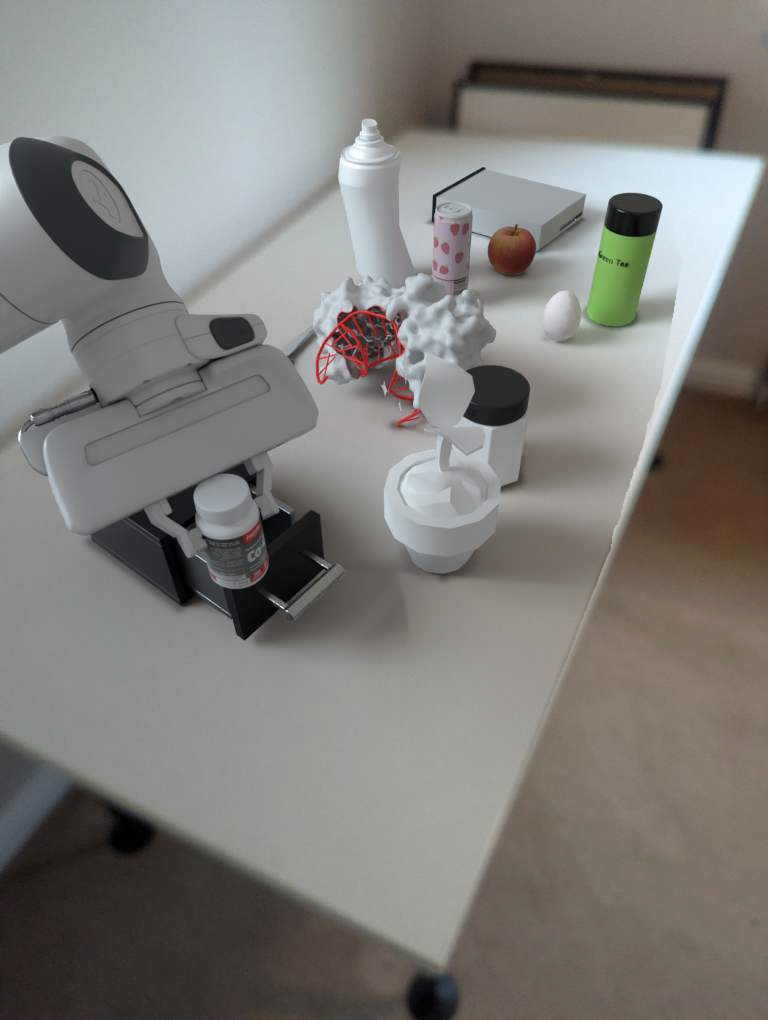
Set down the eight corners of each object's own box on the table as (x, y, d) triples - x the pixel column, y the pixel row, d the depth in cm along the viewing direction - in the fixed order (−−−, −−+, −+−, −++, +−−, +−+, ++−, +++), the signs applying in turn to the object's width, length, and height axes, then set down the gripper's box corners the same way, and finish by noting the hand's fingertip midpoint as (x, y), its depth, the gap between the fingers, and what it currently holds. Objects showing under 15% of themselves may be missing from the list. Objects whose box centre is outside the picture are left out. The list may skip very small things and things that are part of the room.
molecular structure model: (348, 478, 98) (514, 415, 84) (258, 376, 89) (428, 286, 75) (381, 389, 111) (529, 321, 98) (306, 292, 102) (457, 202, 88)
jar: (450, 442, 92) (455, 360, 83) (515, 445, 91) (527, 363, 83) (449, 491, 85) (455, 408, 77) (520, 494, 85) (533, 411, 76)
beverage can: (437, 291, 119) (441, 198, 109) (470, 297, 118) (478, 203, 107) (425, 308, 115) (428, 213, 105) (460, 314, 114) (467, 219, 103)
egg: (574, 330, 110) (584, 283, 105) (578, 349, 106) (587, 301, 101) (538, 329, 111) (546, 281, 105) (540, 348, 107) (548, 300, 102)
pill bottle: (265, 591, 57) (249, 515, 51) (204, 590, 57) (182, 515, 51) (272, 545, 60) (259, 469, 54) (215, 545, 60) (195, 469, 55)
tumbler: (639, 327, 111) (671, 213, 98) (590, 328, 111) (615, 213, 98) (627, 303, 116) (656, 191, 104) (580, 303, 116) (603, 191, 104)
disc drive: (480, 191, 148) (482, 166, 145) (582, 218, 138) (587, 191, 135) (431, 221, 138) (432, 194, 135) (537, 253, 129) (541, 224, 125)
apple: (517, 256, 128) (522, 211, 122) (542, 276, 122) (549, 229, 117) (476, 266, 125) (480, 219, 120) (500, 286, 120) (505, 239, 115)
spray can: (369, 309, 115) (364, 140, 98) (335, 282, 122) (324, 119, 104) (429, 289, 120) (434, 123, 102) (393, 264, 126) (392, 104, 109)
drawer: (362, 590, 74) (359, 536, 68) (282, 668, 67) (271, 616, 62) (235, 511, 82) (223, 458, 77) (152, 574, 76) (133, 520, 70)
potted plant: (380, 517, 82) (375, 319, 65) (483, 511, 83) (506, 312, 65) (389, 607, 73) (386, 404, 56) (504, 599, 74) (537, 396, 56)
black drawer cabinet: (271, 533, 81) (259, 467, 74) (181, 606, 74) (159, 540, 67) (182, 478, 88) (164, 412, 81) (92, 540, 80) (64, 474, 74)
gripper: (3, 410, 47) (106, 602, 48) (278, 308, 55) (359, 472, 57) (7, 431, 52) (100, 601, 54) (256, 335, 61) (330, 484, 62)
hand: (235, 534), depth 55 cm, fingers closed on pill bottle, 5 cm apart
